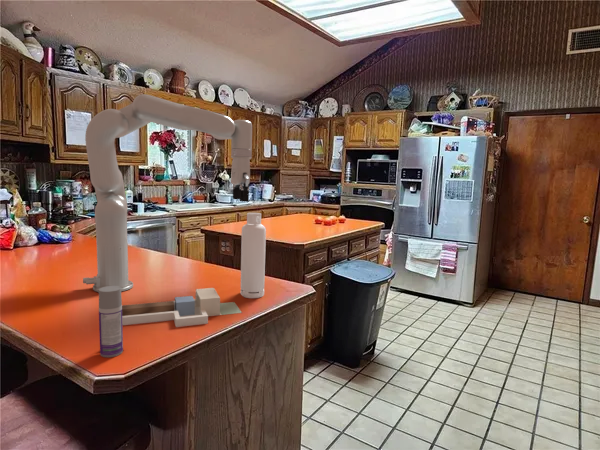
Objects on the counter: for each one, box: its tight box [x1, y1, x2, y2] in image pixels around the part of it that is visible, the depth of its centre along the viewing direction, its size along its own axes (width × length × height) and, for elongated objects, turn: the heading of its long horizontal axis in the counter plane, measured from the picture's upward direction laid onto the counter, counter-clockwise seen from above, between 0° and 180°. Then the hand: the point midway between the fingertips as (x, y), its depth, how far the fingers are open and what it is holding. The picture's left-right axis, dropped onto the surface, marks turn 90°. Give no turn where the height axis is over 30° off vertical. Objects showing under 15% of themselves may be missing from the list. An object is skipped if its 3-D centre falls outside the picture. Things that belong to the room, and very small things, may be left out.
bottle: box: [239, 212, 267, 299], centre depth 132 cm, size 8×8×28 cm
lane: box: [122, 287, 243, 328], centre depth 111 cm, size 33×15×6 cm, turn 113°
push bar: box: [122, 300, 174, 316], centre depth 110 cm, size 14×3×3 cm, turn 113°
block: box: [174, 295, 195, 316], centre depth 114 cm, size 5×5×4 cm
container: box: [98, 286, 124, 358], centre depth 88 cm, size 5×5×15 cm
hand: (240, 200), depth 148 cm, fingers open, 9 cm apart
